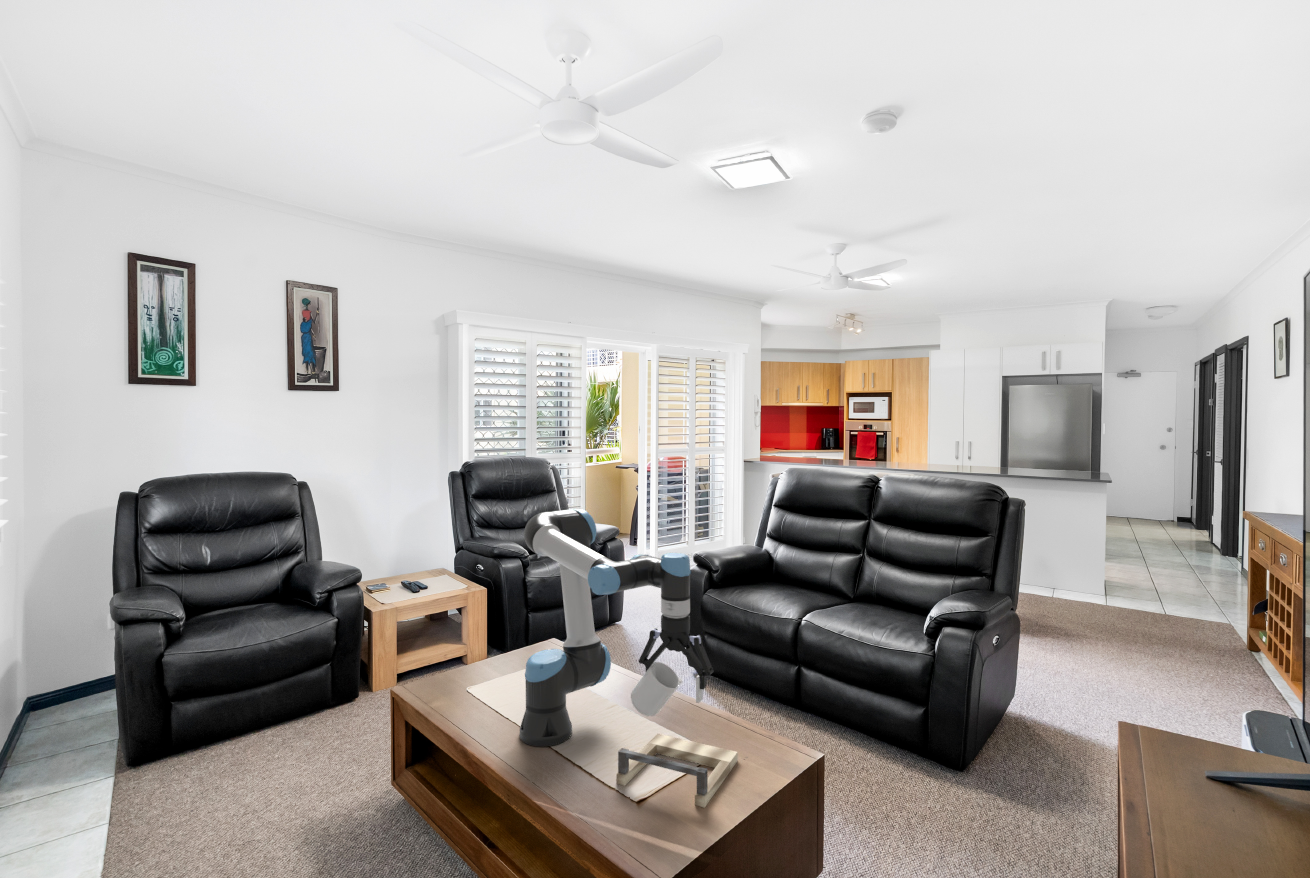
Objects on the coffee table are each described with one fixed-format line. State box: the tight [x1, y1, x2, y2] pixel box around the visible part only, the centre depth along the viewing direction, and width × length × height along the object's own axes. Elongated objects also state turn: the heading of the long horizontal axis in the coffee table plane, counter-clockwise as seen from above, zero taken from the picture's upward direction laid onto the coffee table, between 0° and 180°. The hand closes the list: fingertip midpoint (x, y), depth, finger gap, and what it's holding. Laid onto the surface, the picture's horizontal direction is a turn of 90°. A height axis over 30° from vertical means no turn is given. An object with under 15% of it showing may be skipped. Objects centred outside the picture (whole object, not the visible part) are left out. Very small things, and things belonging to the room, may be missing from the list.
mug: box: [630, 661, 684, 717], centre depth 170 cm, size 12×9×11 cm
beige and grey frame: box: [615, 733, 739, 809], centre depth 169 cm, size 24×24×8 cm
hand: (675, 696), depth 167 cm, fingers open, 13 cm apart
